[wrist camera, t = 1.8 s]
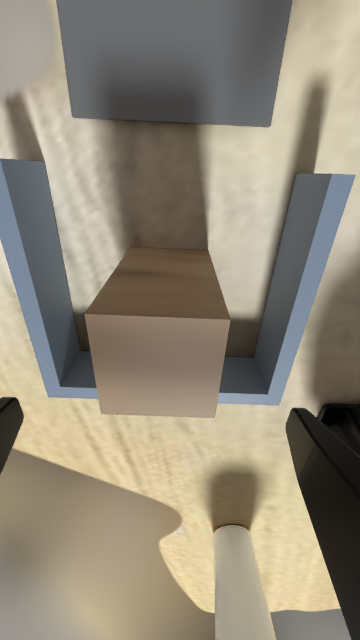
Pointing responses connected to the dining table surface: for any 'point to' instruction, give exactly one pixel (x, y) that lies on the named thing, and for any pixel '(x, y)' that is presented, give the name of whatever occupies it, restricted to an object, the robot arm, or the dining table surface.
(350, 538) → the robot arm
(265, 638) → the drinking glass
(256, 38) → the charcoal mat
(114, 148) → the dining table surface
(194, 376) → the walnut block
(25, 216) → the open-front box
